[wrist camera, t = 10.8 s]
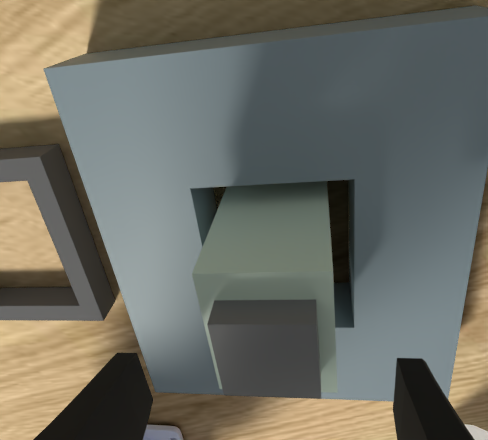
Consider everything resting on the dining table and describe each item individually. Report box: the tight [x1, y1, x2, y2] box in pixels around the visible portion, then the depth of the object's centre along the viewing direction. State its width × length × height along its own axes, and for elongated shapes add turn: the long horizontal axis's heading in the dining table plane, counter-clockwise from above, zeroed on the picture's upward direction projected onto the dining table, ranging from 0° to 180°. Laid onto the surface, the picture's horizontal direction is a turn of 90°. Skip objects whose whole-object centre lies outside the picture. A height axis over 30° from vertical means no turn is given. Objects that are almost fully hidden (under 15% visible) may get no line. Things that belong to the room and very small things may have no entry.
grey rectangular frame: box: [0, 144, 115, 321], centre depth 21 cm, size 9×8×2 cm
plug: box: [192, 181, 337, 399], centre depth 16 cm, size 5×4×8 cm
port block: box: [44, 6, 488, 401], centre depth 18 cm, size 16×14×3 cm
